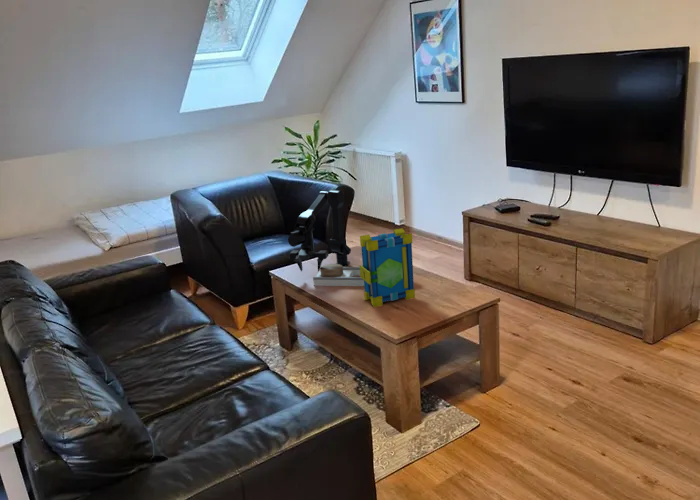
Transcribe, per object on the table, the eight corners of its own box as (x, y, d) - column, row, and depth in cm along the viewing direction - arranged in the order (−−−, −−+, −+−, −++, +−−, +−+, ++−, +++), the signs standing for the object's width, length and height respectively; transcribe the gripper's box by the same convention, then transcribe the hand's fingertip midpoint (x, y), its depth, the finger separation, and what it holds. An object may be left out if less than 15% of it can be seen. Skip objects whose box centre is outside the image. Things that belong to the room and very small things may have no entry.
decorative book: (360, 299, 285) (355, 235, 276) (407, 288, 293) (403, 226, 283) (373, 310, 272) (368, 243, 263) (421, 299, 280) (418, 234, 271)
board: (322, 274, 320) (321, 264, 318) (382, 275, 312) (381, 264, 311) (313, 285, 306) (312, 275, 304) (377, 286, 298) (376, 275, 297)
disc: (324, 270, 316) (323, 263, 315) (345, 270, 314) (345, 263, 313) (318, 278, 306) (317, 271, 305) (340, 278, 304) (339, 271, 303)
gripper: (283, 246, 302) (287, 276, 307) (321, 246, 298) (324, 277, 302) (290, 239, 312) (294, 268, 317) (327, 238, 308) (330, 269, 313)
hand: (310, 271), depth 312 cm, fingers open, 8 cm apart
